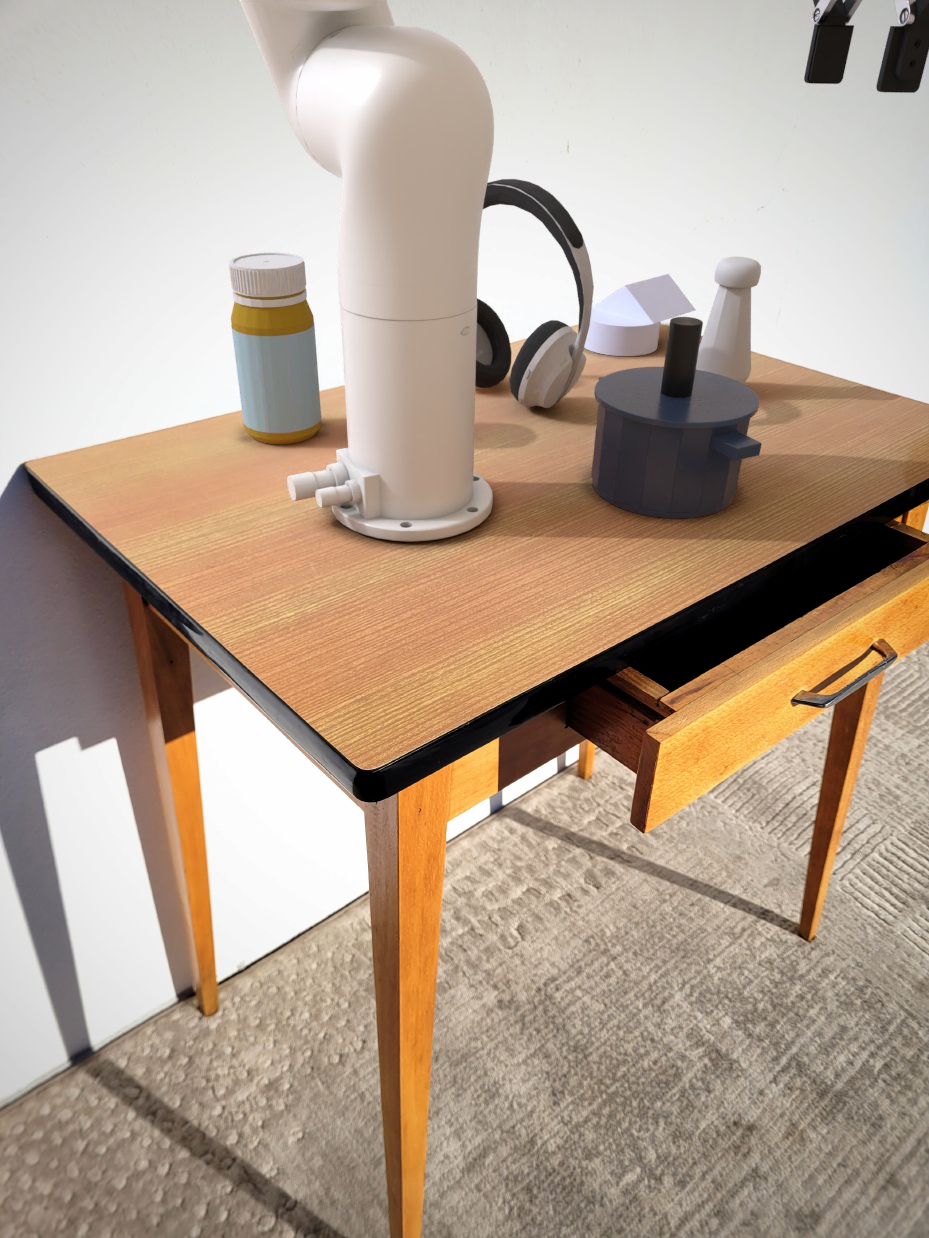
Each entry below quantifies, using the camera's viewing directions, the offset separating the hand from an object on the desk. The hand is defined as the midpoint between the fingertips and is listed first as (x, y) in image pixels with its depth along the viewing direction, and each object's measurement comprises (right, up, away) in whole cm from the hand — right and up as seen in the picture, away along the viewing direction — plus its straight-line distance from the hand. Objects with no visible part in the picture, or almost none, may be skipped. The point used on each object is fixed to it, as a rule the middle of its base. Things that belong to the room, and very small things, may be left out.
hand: (857, 87), depth 71 cm
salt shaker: (-4, -17, +25) cm, 31 cm away
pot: (-14, -30, +5) cm, 33 cm away
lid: (-14, -24, +1) cm, 27 cm away
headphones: (-26, -18, +23) cm, 39 cm away
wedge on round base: (-11, -8, +39) cm, 41 cm away
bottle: (-47, -24, +14) cm, 54 cm away
